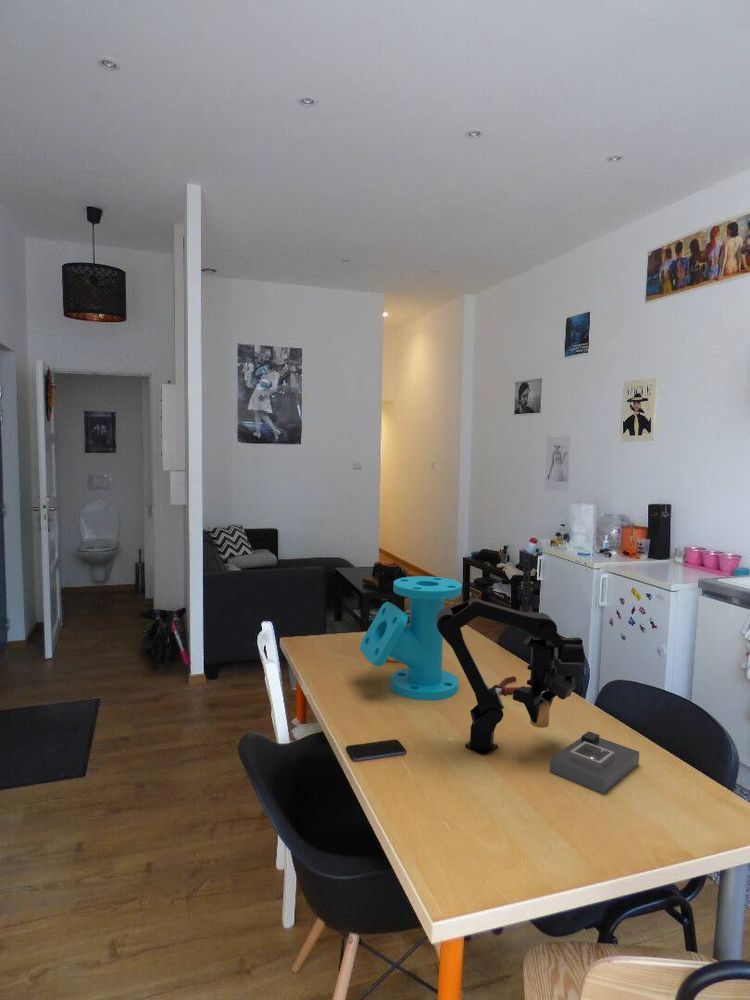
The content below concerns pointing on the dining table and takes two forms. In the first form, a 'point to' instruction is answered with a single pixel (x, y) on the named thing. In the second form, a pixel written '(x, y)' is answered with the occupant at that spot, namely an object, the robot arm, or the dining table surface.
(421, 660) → the pipe fitting
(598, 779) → the sink basin plate
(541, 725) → the cylinder
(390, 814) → the dining table surface
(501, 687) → the pliers
